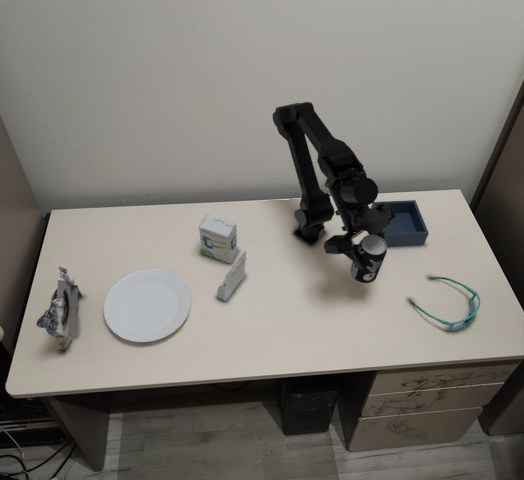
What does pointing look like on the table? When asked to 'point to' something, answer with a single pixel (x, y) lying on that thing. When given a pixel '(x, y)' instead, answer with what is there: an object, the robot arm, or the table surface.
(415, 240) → the tub
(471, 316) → the sunglasses
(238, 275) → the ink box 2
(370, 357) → the table surface
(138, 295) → the plate
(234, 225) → the ink box
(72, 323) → the grey ornamental figurine
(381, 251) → the beverage can
